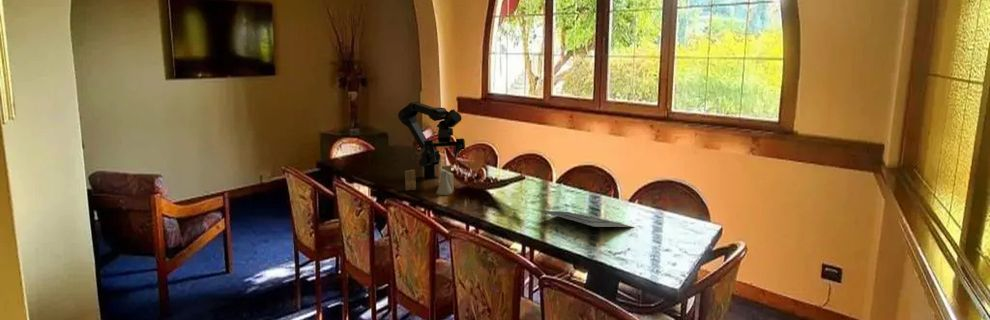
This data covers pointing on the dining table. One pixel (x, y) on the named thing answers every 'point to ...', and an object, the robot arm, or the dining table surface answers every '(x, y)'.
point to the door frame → (411, 180)
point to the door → (449, 179)
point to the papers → (585, 219)
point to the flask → (444, 185)
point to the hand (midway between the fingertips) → (444, 160)
